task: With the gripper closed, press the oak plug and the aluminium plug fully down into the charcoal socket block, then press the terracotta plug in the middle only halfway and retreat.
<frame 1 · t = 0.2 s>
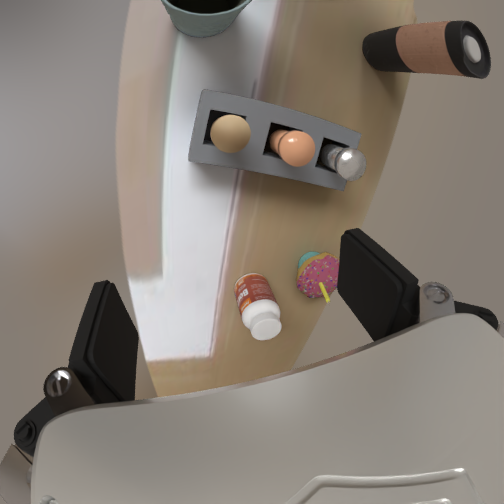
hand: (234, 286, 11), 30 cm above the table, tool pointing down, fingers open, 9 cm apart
socket block: (271, 137, 37), on the table
cupcake: (310, 261, 49), on the table
green tapered cup: (201, 12, 25), on the table
terracotta plug: (289, 145, 30), point 7 cm above the table, slide at 0.0 cm
travel mug: (378, 52, 32), on the table
pill bottle: (250, 285, 49), on the table
aluminium plug: (340, 159, 33), point 7 cm above the table, slide at 0.0 cm
oak plug: (227, 131, 28), point 7 cm above the table, slide at 0.0 cm
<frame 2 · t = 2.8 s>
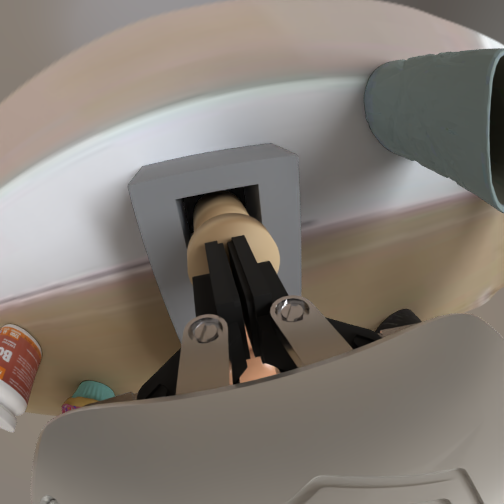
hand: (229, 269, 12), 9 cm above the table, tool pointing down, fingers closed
socket block: (229, 284, 23), on the table
cupcake: (98, 389, 27), on the table
green tapered cup: (399, 104, 18), on the table
terracotta plug: (246, 348, 17), point 7 cm above the table, slide at 0.0 cm
travel mug: (392, 327, 33), on the table
pill bottle: (22, 340, 21), on the table
oak plug: (225, 236, 14), point 6 cm above the table, slide at 1.3 cm, touching gripper
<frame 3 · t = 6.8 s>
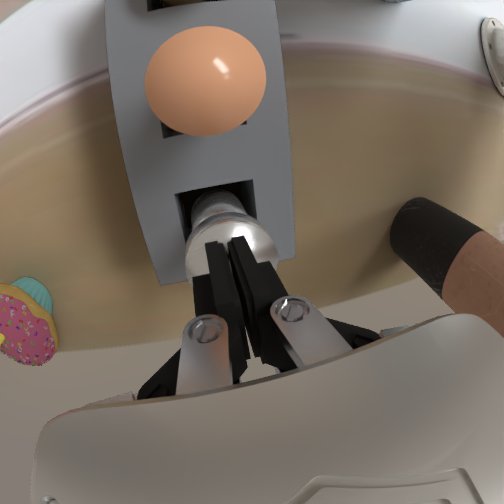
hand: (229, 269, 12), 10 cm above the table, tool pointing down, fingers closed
socket block: (196, 95, 16), on the table
cupcake: (35, 295, 20), on the table
terracotta plug: (201, 86, 10), point 7 cm above the table, slide at 0.0 cm
travel mug: (412, 226, 26), on the table
aluminium plug: (223, 235, 14), point 7 cm above the table, slide at 0.4 cm, touching gripper
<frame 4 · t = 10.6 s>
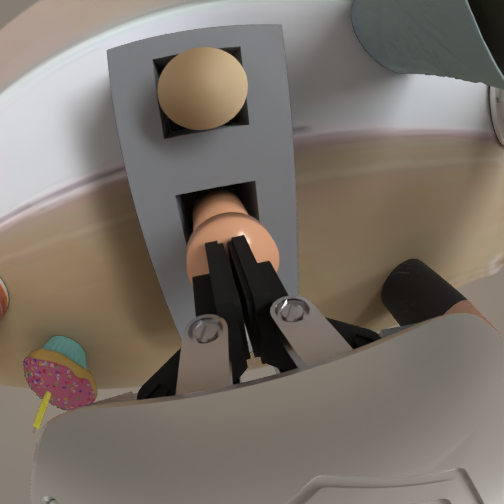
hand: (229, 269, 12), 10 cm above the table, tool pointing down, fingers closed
socket block: (213, 197, 20), on the table
cupcake: (68, 348, 24), on the table
green tapered cup: (388, 27, 15), on the table
terracotta plug: (224, 235, 14), point 6 cm above the table, slide at 0.7 cm, touching gripper
travel mug: (402, 282, 30), on the table
aluminium plug: (235, 307, 20), point 4 cm above the table, slide at 3.6 cm
oak plug: (200, 92, 13), point 4 cm above the table, slide at 3.6 cm
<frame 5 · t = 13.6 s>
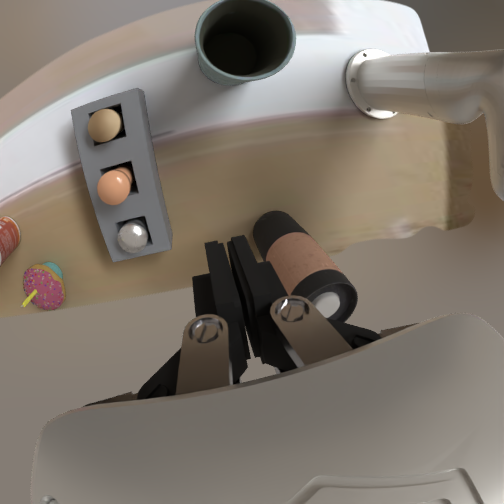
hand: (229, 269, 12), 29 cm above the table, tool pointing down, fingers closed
socket block: (126, 172, 35), on the table
cupcake: (52, 272, 39), on the table
green tapered cup: (228, 56, 30), on the table
terracotta plug: (118, 182, 30), point 5 cm above the table, slide at 1.9 cm
travel mug: (273, 230, 45), on the table
pill bottle: (9, 231, 33), on the table
aluminium plug: (135, 229, 36), point 4 cm above the table, slide at 3.6 cm
oak plug: (109, 124, 28), point 4 cm above the table, slide at 3.6 cm
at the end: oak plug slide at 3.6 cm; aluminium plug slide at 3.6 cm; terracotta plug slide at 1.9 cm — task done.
